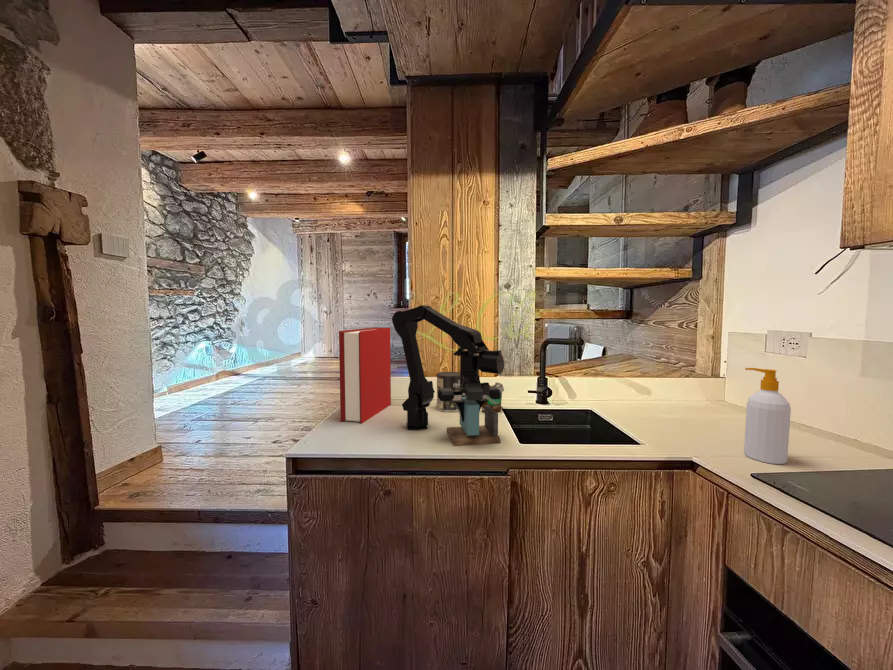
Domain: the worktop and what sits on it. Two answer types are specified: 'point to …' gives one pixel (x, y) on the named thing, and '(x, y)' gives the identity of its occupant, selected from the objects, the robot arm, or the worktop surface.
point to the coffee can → (447, 381)
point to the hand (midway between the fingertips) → (468, 421)
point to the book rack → (486, 432)
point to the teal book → (470, 417)
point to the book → (364, 373)
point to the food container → (494, 400)
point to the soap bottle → (767, 422)
